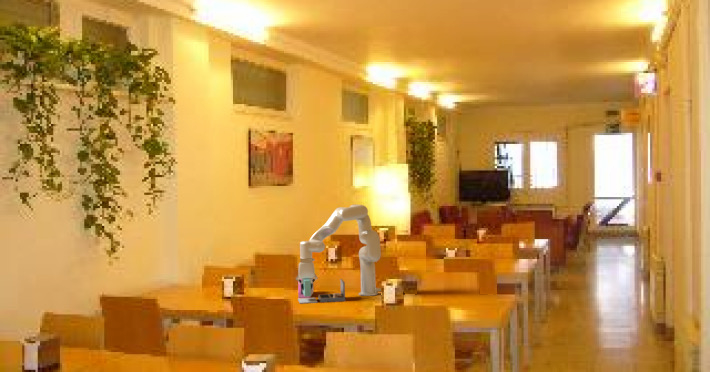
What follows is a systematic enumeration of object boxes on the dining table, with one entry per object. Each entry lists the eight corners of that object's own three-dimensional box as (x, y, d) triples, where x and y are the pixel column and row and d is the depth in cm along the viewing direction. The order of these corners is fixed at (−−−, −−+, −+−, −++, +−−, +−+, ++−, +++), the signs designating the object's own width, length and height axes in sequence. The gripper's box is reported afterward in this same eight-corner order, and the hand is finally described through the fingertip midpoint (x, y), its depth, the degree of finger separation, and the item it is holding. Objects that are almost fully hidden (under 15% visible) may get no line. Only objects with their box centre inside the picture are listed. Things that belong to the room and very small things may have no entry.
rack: (342, 297, 523) (341, 278, 523) (345, 301, 508) (344, 282, 508) (318, 298, 521) (317, 279, 521) (320, 302, 506) (319, 283, 506)
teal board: (309, 293, 519) (309, 277, 518) (311, 296, 507) (310, 280, 507) (303, 293, 518) (302, 277, 518) (304, 296, 506) (304, 280, 506)
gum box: (310, 298, 524) (309, 277, 524) (297, 298, 525) (297, 277, 524) (313, 292, 548) (313, 272, 548) (302, 292, 549) (301, 272, 548)
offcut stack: (339, 298, 522) (339, 292, 521) (343, 301, 510) (343, 295, 510) (333, 298, 521) (332, 293, 520) (337, 301, 509) (337, 296, 509)
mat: (315, 298, 521) (315, 297, 521) (317, 302, 505) (317, 301, 505) (297, 299, 520) (297, 298, 520) (299, 303, 504) (299, 302, 504)
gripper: (318, 259, 517) (319, 288, 517) (292, 260, 515) (293, 289, 515) (320, 260, 509) (320, 290, 510) (293, 262, 507) (294, 291, 508)
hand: (306, 289), depth 512 cm, fingers closed on teal board, 4 cm apart
